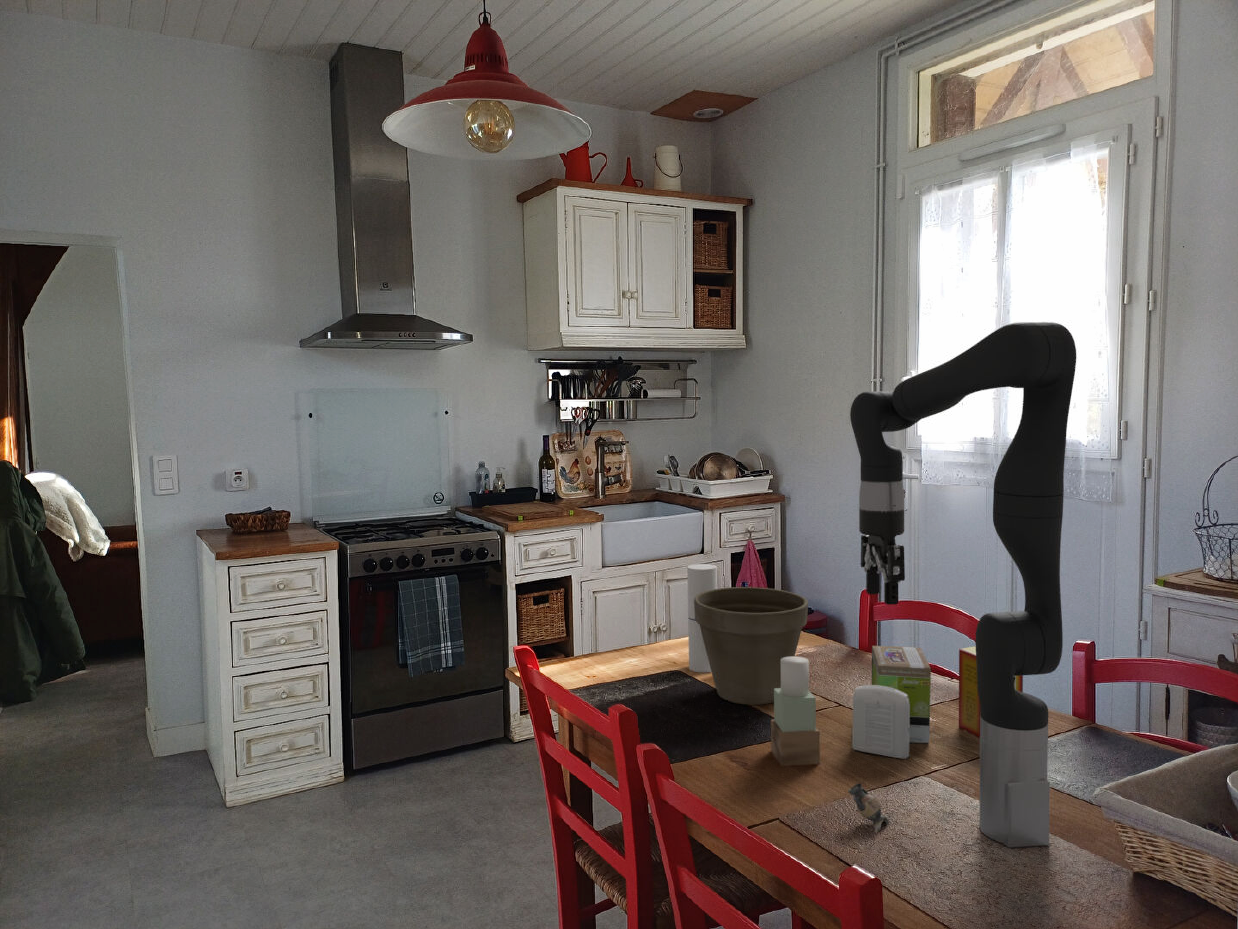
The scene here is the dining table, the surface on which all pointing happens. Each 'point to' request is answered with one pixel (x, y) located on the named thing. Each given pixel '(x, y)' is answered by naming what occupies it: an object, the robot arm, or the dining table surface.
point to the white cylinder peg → (794, 676)
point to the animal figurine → (868, 806)
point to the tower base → (795, 746)
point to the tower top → (794, 712)
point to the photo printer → (881, 721)
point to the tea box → (906, 683)
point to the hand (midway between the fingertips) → (881, 598)
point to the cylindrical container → (698, 582)
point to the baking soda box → (972, 691)
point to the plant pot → (749, 638)
